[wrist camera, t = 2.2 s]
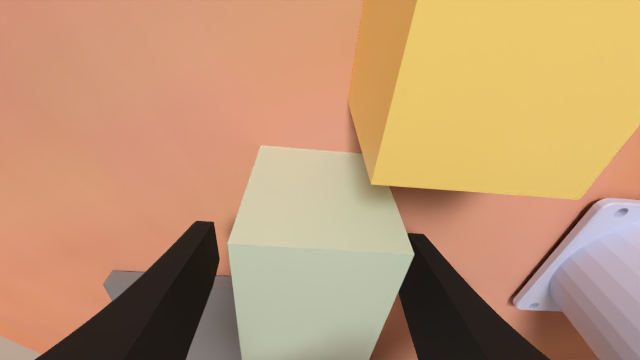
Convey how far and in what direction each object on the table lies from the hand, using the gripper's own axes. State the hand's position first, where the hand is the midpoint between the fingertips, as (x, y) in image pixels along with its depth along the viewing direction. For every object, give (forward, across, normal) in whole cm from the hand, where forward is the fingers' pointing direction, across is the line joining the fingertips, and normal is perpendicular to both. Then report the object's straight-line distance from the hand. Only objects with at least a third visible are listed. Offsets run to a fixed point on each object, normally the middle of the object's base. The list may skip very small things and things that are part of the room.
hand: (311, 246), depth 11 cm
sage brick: (+2, 0, 0) cm, 2 cm away
